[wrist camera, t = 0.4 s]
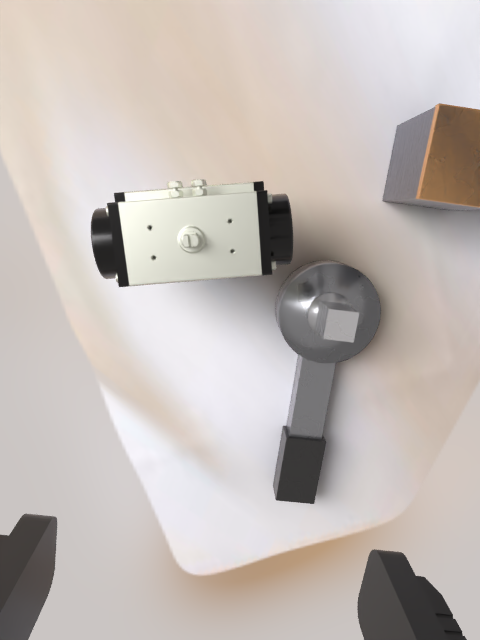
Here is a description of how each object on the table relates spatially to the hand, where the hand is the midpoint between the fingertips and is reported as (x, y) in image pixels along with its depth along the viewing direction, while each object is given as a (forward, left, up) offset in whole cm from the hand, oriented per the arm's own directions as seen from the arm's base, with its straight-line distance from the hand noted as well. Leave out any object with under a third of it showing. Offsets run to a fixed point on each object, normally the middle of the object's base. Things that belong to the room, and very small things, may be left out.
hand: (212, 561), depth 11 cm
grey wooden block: (-14, +14, -27) cm, 33 cm away
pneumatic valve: (-7, -2, -27) cm, 28 cm away
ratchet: (+5, +8, -27) cm, 28 cm away
